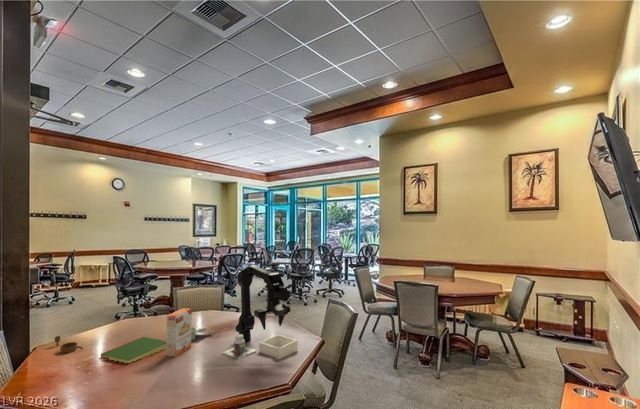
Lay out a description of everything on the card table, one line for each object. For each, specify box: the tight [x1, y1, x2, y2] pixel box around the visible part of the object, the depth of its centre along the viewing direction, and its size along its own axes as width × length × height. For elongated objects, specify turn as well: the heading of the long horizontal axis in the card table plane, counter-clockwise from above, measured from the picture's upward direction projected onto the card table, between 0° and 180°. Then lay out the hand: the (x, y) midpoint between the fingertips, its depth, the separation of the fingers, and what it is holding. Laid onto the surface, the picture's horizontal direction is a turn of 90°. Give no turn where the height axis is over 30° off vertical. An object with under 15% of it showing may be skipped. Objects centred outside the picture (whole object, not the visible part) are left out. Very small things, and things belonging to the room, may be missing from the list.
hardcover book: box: [100, 336, 166, 364], centre depth 175 cm, size 25×19×4 cm
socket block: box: [221, 345, 257, 360], centre depth 174 cm, size 12×12×2 cm
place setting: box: [54, 335, 84, 354], centre depth 179 cm, size 18×20×6 cm
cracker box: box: [165, 307, 193, 358], centre depth 177 cm, size 14×6×21 cm, turn 169°
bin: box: [258, 334, 298, 360], centre depth 177 cm, size 14×14×6 cm
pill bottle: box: [233, 333, 246, 355], centre depth 174 cm, size 5×5×10 cm
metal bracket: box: [191, 327, 214, 340], centre depth 201 cm, size 14×6×15 cm
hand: (272, 327), depth 177 cm, fingers open, 9 cm apart
